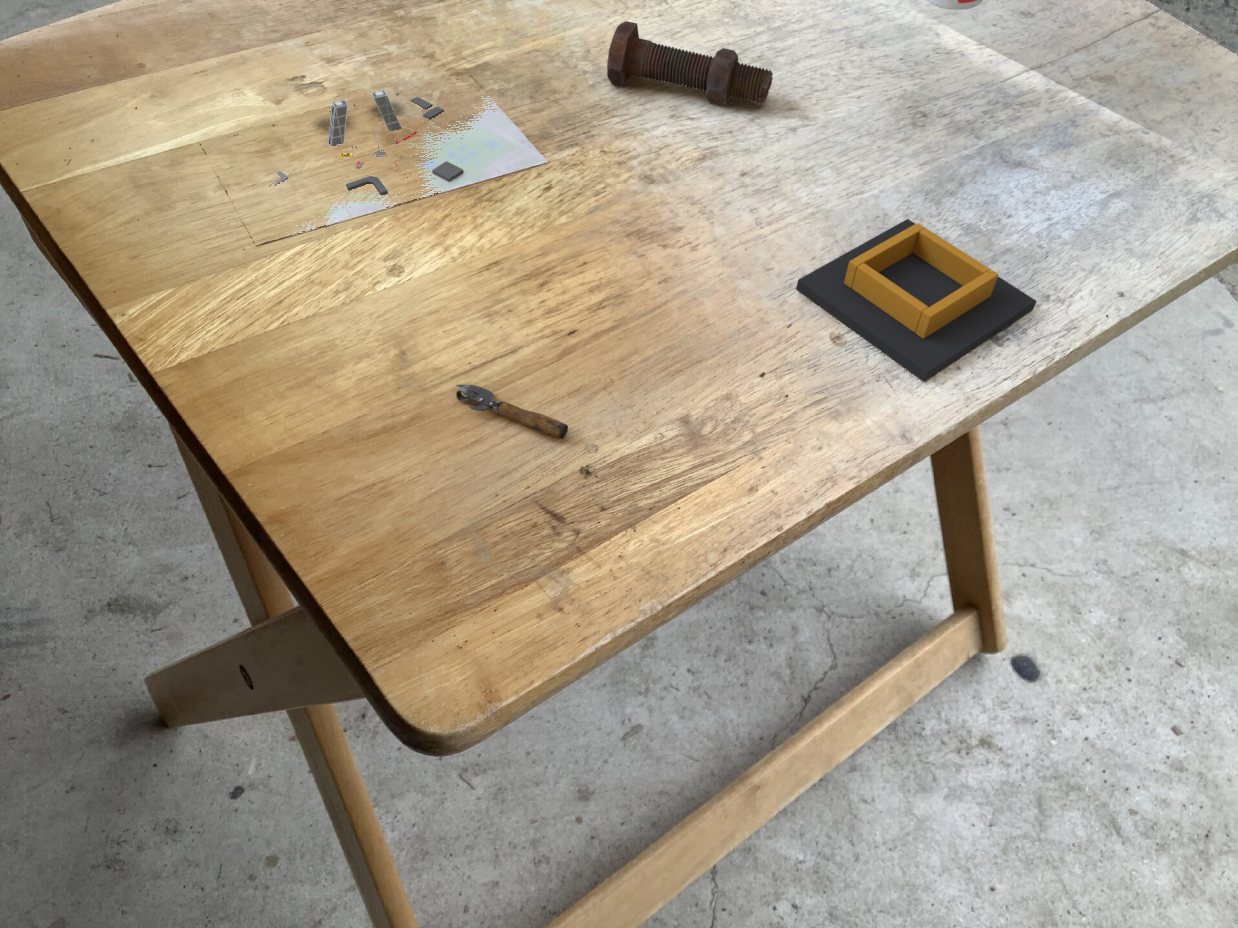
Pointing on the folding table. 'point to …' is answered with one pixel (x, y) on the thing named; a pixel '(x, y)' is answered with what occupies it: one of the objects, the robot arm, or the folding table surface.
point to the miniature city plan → (458, 164)
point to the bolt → (685, 68)
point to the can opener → (511, 411)
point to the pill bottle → (955, 4)
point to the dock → (916, 298)
